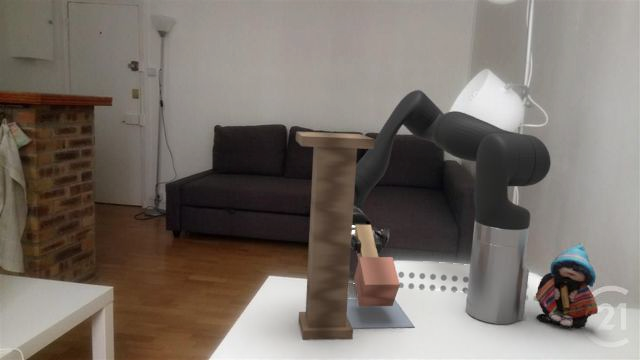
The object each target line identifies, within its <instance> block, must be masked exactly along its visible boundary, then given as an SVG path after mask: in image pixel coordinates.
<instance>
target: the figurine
mask: <svg viewBox="0 0 640 360" xmlns="http://www.w3.org/2000/svg"><path fill="white" fill-rule="evenodd" d="M549 270H550V272H549V273H546V274H544V276H543V277H542V278H540V281H539V283H538V287H537V291H536V292H535V293H536V294H535V298H536V302H538V306H539V307H540V308H541V311H542V312H543V313H539V314H538V315H537V316H536V320H538V321H539V322H541V323H543V324H549V325H553V326H556V327H560V328H564V329H570V330H571V329H579V328H580V329H582V328H581V327H583V328H585V326H586V324H587V322H588V318H589V317H591V316H592V315H597V314H598V311H599V310H598V305H597V301H596V299H595V297H594V294H593V293H592V291H591V290H590V288H593V287H594V284H595V283H596V279H597V278H596V273H595V269H594V268H593V266H592V264H591V262H590V260H589V256H588V253H587V252H586V250H585V246H584V245H583V243H579V244H576V245H572V247H570V248H568V249H566V250H564V251H562V252H561V253H560V254H558V255H557V256H556V257H555V258H554V260H553V261H552V262H551V265H550V269H549ZM588 286H589V287H590V288H589V287H588Z"/></svg>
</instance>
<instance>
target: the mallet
mask: <svg viewBox="0 0 640 360" xmlns="http://www.w3.org/2000/svg"><path fill="white" fill-rule="evenodd" d="M371 225H372V224H371ZM371 225H356V226H355V234H356V237H357V238H358V239H359V240H360V241H361V252H360V253H356V254H357V260H358V261H357V265H356V269H355V270H356V271H355V273H354V277H353V280H354V286H355V292H356V297H357V298H356V299H358V303H359V306H393V303H394V300H396V298H397V297H396V296H397V293H398V291H399V288H400V286H401V285H400V280H399V276H398V273H397V270H396V264H395V261H394V258H393V256H391V257H390V256H389V257H387V256H383V257H382V256H381V257H380V256H379V253H377V249H376V246H375V242H374V236H373V232H372V228H371Z"/></svg>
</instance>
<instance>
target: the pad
mask: <svg viewBox="0 0 640 360" xmlns="http://www.w3.org/2000/svg"><path fill="white" fill-rule="evenodd" d="M347 317H348V319H349V322H350V324H351V326H352V328H353V330H355V329H357V330H359V329H363V330H364V329H406V328H407V329H410V328H411V329H413V328H416V327H415V325H414V324H413V322H412V321H411V320H410V318H409V317H408V315H407V314H406V312H405V311H404V310H403V309H402V307H401V305H400V304H399V302H398V301H397V300H396V299H395V300H394V303H393V306H359V303H358V298H348V301H347Z"/></svg>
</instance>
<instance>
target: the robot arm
mask: <svg viewBox="0 0 640 360" xmlns="http://www.w3.org/2000/svg"><path fill="white" fill-rule="evenodd" d="M402 126H404V128H406V129H407V131H409V132H410V133H411V134H412V136H415V137H416V138H418V139H420V140H424V141H427V142H431V143H434V145H435V146H437V147H438V148H440V149H441V150H442V151H444V152H445V153H447V154H449V155H451V156H453V157H456V158H458V159H461V160H464V161H469V162H475V174H474V175H475V176H474V177H475V179H474V196H473V201H474V202H473V203H474V210H475V216H474V226H473V233H472V234H473V235H472V246H471V254H470V255H471V256H470V265H469V274H468V283H467V293H466V300H465V301H466V303H465V311H466V312H467V314H469V316H471V317H473V318H475V319H477V320H479V321H483V322H486V323H490V324H496V325H499V324H500V325H508V324H509V325H510V324H514V323H516V322H518V321H523V320H524V316H525V315H524V313H525V309H526V308H525V307H526V297H527V290H528V283H529V282H528V281H529V275H530V271H529V269H528V268H527V267H525V265H526V257H527V250H528V249H527V247H528V240H529V232H530V223H531V212H530V211H529V210H528V209H527V208H525V207H523V206H521V205H518V204H516V203H513V202H512V201H511V200H510V199H509V196H508V195H509V192H508V189H509V188H508V187H528V186H534V185H536V184H538V183H540V182H542V181H543V180H544V179H545V178H546V176H547V175H548V173H549V172H550V169H551V164H552V163H551V156H550V152H549V150H548V148H547V146H546V145H545V144H544V142H543V141H542V140H541V139H540V138H538V137H536V136H534V135H531V134H525V133H524V134H523V133H518V132H514V131H511V130H510V131H509V130H505V129H502V128H500V127H498V126H496V125H494V124H492V123H489V122H487V121H484V120H482V119H480V118H478V117H475V116H473V115H471V114H468V113H465V112H461V111H456V110H453V111H452V110H451V111H449V112H446V113H444V112H443V111H442V110H441V109H440V108H439V107H438V106H437V105H436V103H434V102H433V100H431V98H429V96H427V94H426V93H424V92H423V91H422V90H421V89H415V90H413V91H410V92H409V93H407V94H406V95H405V96H404V97H403V98H402V99H401V100H400V101H399V103H398V104H397V105H396V106H395V108H394V109H393V110H392V113H391V114H390V116H388V118H387V120H386V122H385V123H384V124H383V127H382V128H381V129H380V131H379V133H378V135H377V136H376V137H375V138H374V139H375V140H374V149H368V150H366V152H365V154H364V155H363V156H362V157H361V159H359V161H358V162H356V174H355V189H354V205H353V221H352V237H351V249H352V250H351V251H353V252H355V253H356V254H357V253H360V252H361V241H360V240H359V239H358V238H357V237H356V234H355V226H356V225H371V228H372V232H373V236H374V242H375V246H376V249H377V253H378V254H380V252H382V248H386V246H387V245H388V243H389V240H390V230H391V229H390V228H388V227H385V228H383V229H380V230H378V229H377V228H376V227H374V226H373V225H372V222H371V220H370V219H369V218H368V217H367V215H366V214H365V213H364V212H363V211H362V210H361V208H362V206H363V204H364V202H365V200H366V199H367V197H368V195H369V193H370V192H371V190H373V188H375V186H376V185H377V184H378V183H379V182H380V181H381V179H382V178H383V176H384V175H385V173H386V172H387V169H388V166H389V163H390V159H391V156H392V155H391V153H392V149H393V145H394V141H395V138H396V136H397V134H398V132H399V131H400V129H401V127H402Z"/></svg>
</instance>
